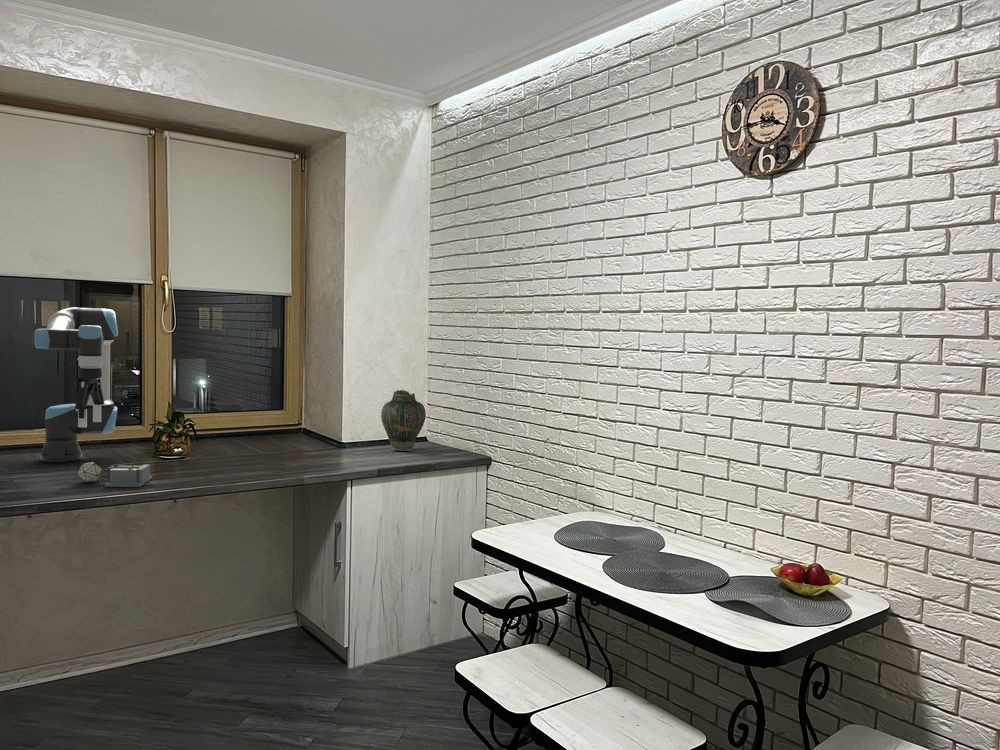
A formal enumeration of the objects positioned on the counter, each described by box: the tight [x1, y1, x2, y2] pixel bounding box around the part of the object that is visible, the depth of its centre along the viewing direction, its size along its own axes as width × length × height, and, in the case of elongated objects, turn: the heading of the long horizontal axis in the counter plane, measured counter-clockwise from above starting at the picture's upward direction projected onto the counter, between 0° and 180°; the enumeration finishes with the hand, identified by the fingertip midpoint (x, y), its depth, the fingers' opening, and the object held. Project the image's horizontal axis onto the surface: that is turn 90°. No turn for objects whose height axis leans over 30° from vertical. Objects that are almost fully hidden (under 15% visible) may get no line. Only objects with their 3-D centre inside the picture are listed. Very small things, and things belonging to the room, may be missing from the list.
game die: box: [74, 459, 106, 485], centre depth 268 cm, size 9×8×10 cm
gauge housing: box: [104, 464, 153, 488], centre depth 270 cm, size 14×12×6 cm
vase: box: [380, 389, 427, 452], centre depth 361 cm, size 22×22×30 cm
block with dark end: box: [107, 465, 135, 481], centre depth 269 cm, size 7×9×5 cm
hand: (89, 424), depth 267 cm, fingers open, 13 cm apart
